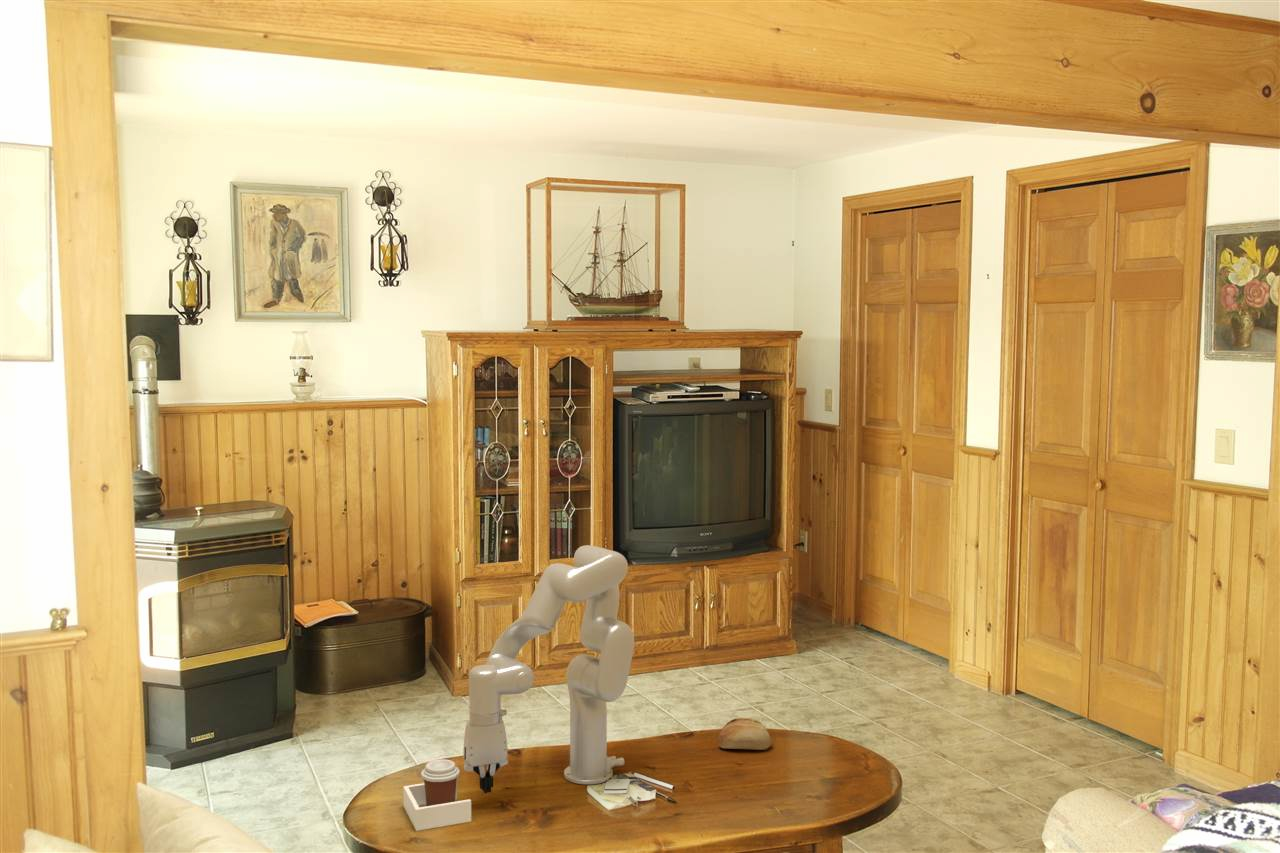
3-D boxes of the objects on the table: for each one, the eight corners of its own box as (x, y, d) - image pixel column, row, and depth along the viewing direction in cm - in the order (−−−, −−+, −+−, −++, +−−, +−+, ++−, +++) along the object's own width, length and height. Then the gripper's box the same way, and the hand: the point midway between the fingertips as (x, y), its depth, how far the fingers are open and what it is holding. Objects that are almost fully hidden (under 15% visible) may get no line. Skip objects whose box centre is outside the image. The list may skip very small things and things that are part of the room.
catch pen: (456, 797, 272) (456, 778, 272) (471, 821, 259) (471, 800, 259) (403, 806, 267) (403, 786, 267) (416, 830, 254) (415, 809, 254)
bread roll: (714, 742, 311) (715, 714, 311) (767, 741, 312) (767, 713, 312) (719, 755, 302) (720, 726, 301) (773, 754, 303) (774, 725, 302)
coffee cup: (442, 825, 257) (441, 775, 256) (413, 815, 262) (412, 766, 261) (468, 811, 265) (467, 762, 264) (439, 802, 270) (439, 754, 269)
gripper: (510, 708, 272) (511, 780, 274) (451, 716, 267) (452, 790, 268) (519, 717, 265) (520, 791, 267) (458, 726, 260) (459, 802, 261)
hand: (486, 790), depth 268 cm, fingers closed
